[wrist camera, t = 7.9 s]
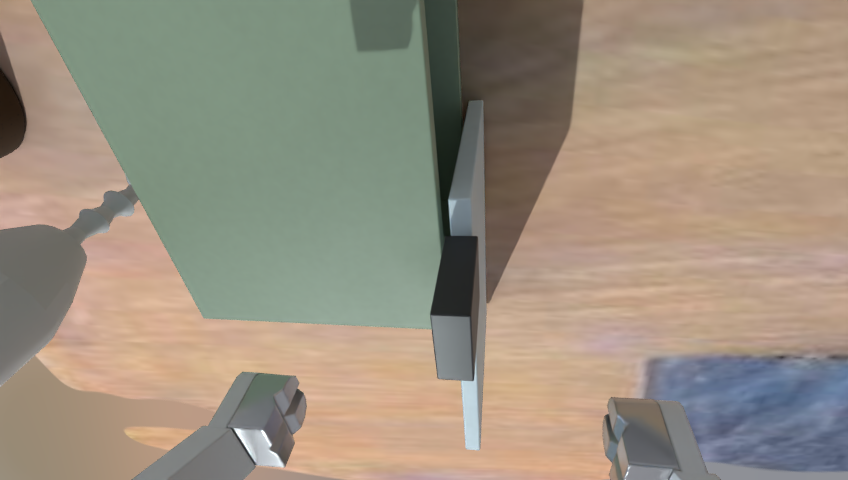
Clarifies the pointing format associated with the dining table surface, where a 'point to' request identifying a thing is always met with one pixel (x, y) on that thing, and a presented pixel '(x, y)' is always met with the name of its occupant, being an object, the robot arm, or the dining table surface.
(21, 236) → the chalice
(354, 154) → the cabinet
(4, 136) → the dark brown necked cylinder
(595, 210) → the dining table surface
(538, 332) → the dining table surface
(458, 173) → the sliding door
